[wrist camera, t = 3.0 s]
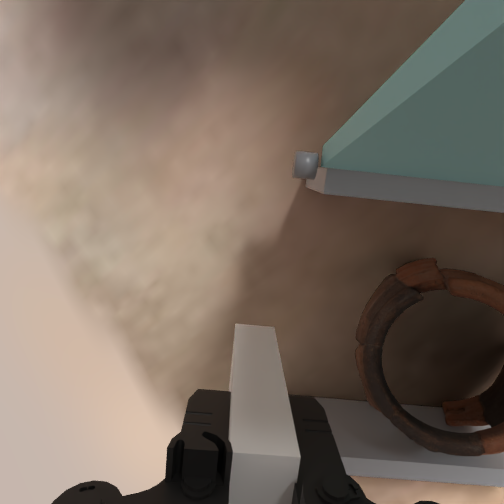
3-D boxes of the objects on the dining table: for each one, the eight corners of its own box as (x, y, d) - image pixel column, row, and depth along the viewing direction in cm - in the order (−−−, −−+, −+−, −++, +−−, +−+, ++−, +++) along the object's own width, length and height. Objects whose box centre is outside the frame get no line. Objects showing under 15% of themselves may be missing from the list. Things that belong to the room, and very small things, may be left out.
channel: (283, 154, 18) (298, 150, 13) (638, 192, 19) (780, 202, 14) (253, 406, 22) (255, 480, 17) (556, 431, 22) (647, 509, 17)
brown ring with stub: (402, 434, 23) (396, 507, 15) (343, 292, 25) (311, 295, 18) (635, 380, 19) (780, 444, 11) (539, 216, 21) (608, 178, 13)
